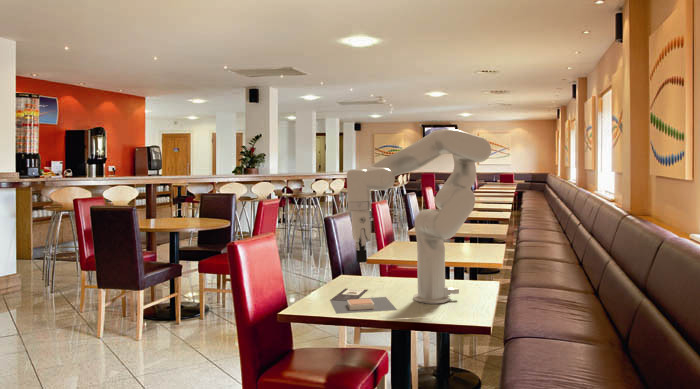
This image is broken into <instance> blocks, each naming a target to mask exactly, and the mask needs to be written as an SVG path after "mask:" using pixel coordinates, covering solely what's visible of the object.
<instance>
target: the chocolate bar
mask: <svg viewBox="0 0 700 389" xmlns="http://www.w3.org/2000/svg"><path fill="white" fill-rule="evenodd" d="M368 291H369V289H365V288H364V289H363V288H362V289H361V288H344V289H343V290H342V291H340V292H339V293H338V294H335V296H333V297H332V298H331V299H330V300H337V301H347V300H352V299H358V298H362V296H363V295H364V294H366V293H367V292H368Z"/></svg>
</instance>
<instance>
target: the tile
mask: <svg viewBox="0 0 700 389" xmlns="http://www.w3.org/2000/svg"><path fill="white" fill-rule="evenodd" d="M347 305H348V307H349V309H350V310H360V309H374V303H373V301H372V300H371V299H352V300H347Z"/></svg>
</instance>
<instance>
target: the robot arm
mask: <svg viewBox="0 0 700 389" xmlns="http://www.w3.org/2000/svg"><path fill="white" fill-rule="evenodd" d="M449 154H452V159H453V170H452V172H451V173H450V175H449V177H447V180H446V181H445V182H444V183H443V185H442V186H441V188H440V189H439V190H438V192H437V193H436V195H435V198H434V204H435V207H437V209H432V208H428V209H426V208H425V209H423V210H421V211H420V212H419V213H418V214H417V215H416V217H415V220H414V232H415V238H416V248H417V249H416V252H417V253H416V255H417V256H416V259H417V260H416V262H417V264H416V265H417V266H416V267H417V268H416V269H417V293H415V294H413V297H412V298H413V301H415V302H417V303H420V304H429V305H430V304H431V305H434V304H436V305H437V304H444V303H447V302H449V301H450V300H451V296H450V295H451V294H452V295H458V294H459V293H460V291H459V289H460V288H458V287H457V288H456V287H455V288H453V287H447V286H446V248H445V241H444V240H450V239H451V238H453V237H454V236H456V234H457V233H458V231H460V228H461V227H462V226H463V225H464V223H465V222H466V220H467V219H468V217H469V216H470V214H471V213H472V212H473V210H474V208H475V204H476V196H475V194H474V192H473V190H472V187H473V185H475V181H476V179H477V168H476V167H477V166H476V163H483V162H485V161H486V160H488V159H490V158H489V157H490V156H491V154H492V146H491V143H490V142H489V141H488V140H487V139H486V138H485V137H483V136H478V135H477V134H472V133H469V132H466V131H463V130H459V129H455V128H442V129H437V130H434V131H431V132H430V133H428V134H427V135H426V136H424V137H422V138H420V139H419V140H417V141H415V142H413V143H412V144H409V145H408V146H407V147H404V148H402V149H401V150H397V151H396V152H395V153H392V154H390V155H388V156H386V157H384V158H383V159H380V160H379V161H377V162H375V163H374V164H372V165H370V166H369V167H367V168H356V169H355V168H353V169H349V170H347V172H346V189H347V190H346V191H347V192H346V193H347V194H346V195H347V211H348V213H351V232H352V239H353V240H354V241H355V247H356V248H355V249H356V250H355V251H356V252H355V256H356V257H355V258H356V262H357V263H359V264H360V263H367V261H368V260H367V259H368V255H367V254H368V253H367V241H368V242H371V241H372V232H371V231H372V230H371V221H370V220H371V219H370V213H369V212H370V211H371V212H372V205H371V204H372V203H371V202H372V200H371V199H372V198H371V191H373V190H374V191H375V190H376V191H387V190H389V189H390V188H392V187H393V186H394V184H395V183H396V182H395V181H396V177H397V176H399V175H402V174H406V173H411V172H415V171H417V170H420V169H422V168H424V167H425V166H426V165H428V164H430V163H432V162H433V161H434V160H436V159H438V158H439V157H441V156H442V155H449Z"/></svg>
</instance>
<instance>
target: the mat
mask: <svg viewBox="0 0 700 389" xmlns="http://www.w3.org/2000/svg"><path fill="white" fill-rule="evenodd" d="M358 299H371V300H372V301H373V303H374V309H360V310H350V309H349V307H348V305H347V301H337V300H331V299H329V301H330V303H331V305H332V307H333V310H334V311H335V314H337V315H338V314H352V313H354V314H355V313H372V312H388V311H398V309H397V307H395V306H394V304H393V303H392V302H391V301H390V300H389V299H388V298H387V296H379V297H377V296H376V297H360V298H358Z"/></svg>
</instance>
